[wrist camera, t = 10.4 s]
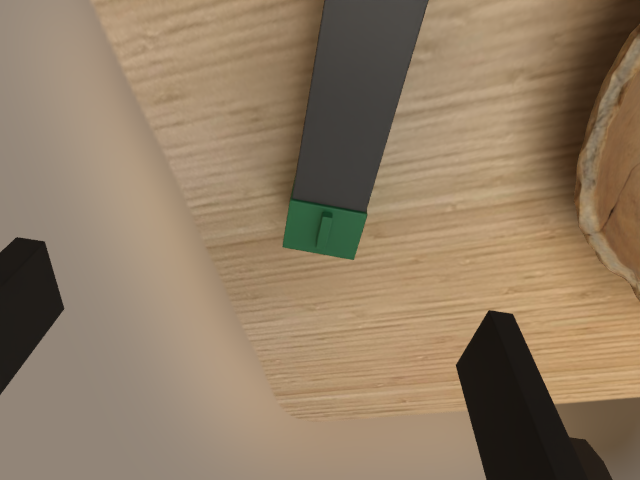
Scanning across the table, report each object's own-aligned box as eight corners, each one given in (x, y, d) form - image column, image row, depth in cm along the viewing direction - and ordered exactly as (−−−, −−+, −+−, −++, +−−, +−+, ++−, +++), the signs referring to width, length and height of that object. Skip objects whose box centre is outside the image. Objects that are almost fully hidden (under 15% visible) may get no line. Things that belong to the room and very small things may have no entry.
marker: (331, -41, 21) (327, -35, 16) (420, -21, 21) (438, -11, 17) (290, 208, 29) (281, 253, 25) (353, 220, 30) (354, 266, 26)
